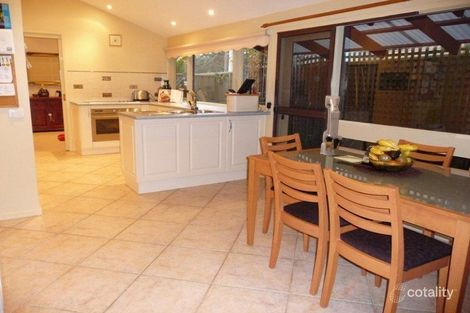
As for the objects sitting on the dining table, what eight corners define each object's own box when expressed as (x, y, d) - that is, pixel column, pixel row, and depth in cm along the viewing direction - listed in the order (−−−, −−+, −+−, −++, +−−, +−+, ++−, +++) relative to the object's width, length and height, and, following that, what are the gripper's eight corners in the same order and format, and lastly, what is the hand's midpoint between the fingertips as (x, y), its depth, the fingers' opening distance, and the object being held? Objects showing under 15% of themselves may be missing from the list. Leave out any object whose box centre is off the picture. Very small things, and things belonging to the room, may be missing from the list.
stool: (330, 151, 240) (331, 143, 239) (325, 150, 244) (325, 142, 243) (338, 151, 244) (339, 142, 243) (333, 149, 248) (334, 141, 247)
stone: (358, 166, 235) (359, 145, 239) (364, 170, 241) (365, 150, 245) (379, 165, 225) (379, 143, 229) (384, 169, 232) (385, 147, 236)
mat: (333, 157, 253) (333, 157, 253) (348, 156, 261) (349, 155, 261) (352, 163, 238) (352, 162, 238) (368, 161, 246) (368, 160, 246)
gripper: (322, 127, 245) (320, 146, 248) (337, 130, 233) (335, 150, 236) (329, 127, 249) (328, 146, 251) (345, 130, 236) (343, 149, 239)
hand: (332, 148), depth 244 cm, fingers closed on stool, 5 cm apart
